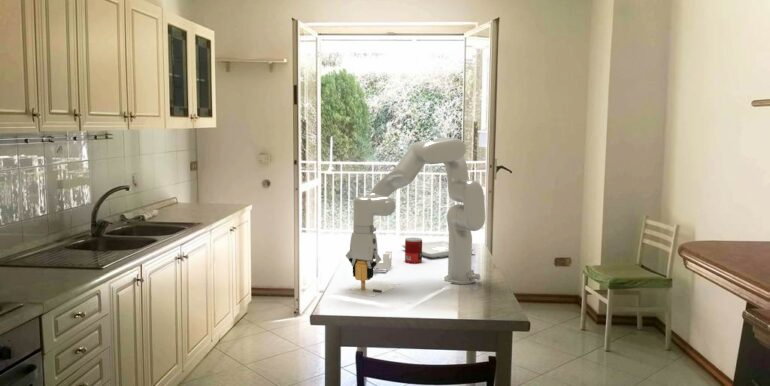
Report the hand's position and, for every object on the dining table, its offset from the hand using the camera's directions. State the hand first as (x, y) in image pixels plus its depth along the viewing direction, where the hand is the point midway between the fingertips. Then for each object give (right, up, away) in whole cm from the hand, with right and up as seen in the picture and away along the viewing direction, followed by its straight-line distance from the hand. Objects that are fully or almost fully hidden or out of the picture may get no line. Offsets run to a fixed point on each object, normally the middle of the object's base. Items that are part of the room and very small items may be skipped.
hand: (362, 276), depth 232 cm
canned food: (+22, -1, +57) cm, 61 cm away
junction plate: (+4, -6, +3) cm, 8 cm away
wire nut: (0, -1, 0) cm, 1 cm away
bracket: (+4, -3, +44) cm, 44 cm away
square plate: (+35, +1, +80) cm, 87 cm away
